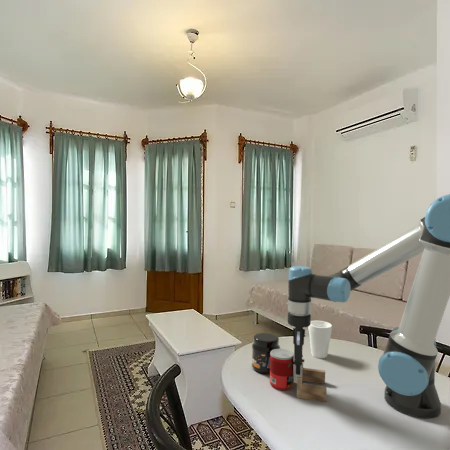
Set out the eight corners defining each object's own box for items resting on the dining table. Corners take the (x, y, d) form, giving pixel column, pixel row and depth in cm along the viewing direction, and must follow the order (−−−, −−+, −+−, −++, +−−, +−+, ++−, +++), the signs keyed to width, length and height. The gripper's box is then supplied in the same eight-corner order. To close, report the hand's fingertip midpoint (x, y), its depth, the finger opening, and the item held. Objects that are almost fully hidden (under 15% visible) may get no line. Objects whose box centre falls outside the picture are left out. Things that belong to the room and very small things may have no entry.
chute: (324, 381, 114) (325, 364, 114) (326, 401, 101) (326, 382, 101) (298, 378, 116) (298, 361, 116) (296, 397, 104) (297, 378, 104)
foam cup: (303, 351, 140) (304, 321, 139) (322, 349, 142) (322, 319, 142) (316, 361, 131) (316, 328, 130) (335, 358, 133) (336, 326, 133)
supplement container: (248, 363, 128) (248, 333, 127) (273, 361, 130) (273, 331, 130) (256, 376, 117) (257, 343, 117) (284, 373, 120) (284, 341, 120)
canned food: (291, 392, 107) (292, 359, 106) (267, 388, 109) (268, 355, 109) (294, 381, 114) (295, 350, 114) (271, 377, 116) (272, 347, 116)
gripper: (289, 306, 117) (288, 371, 117) (286, 317, 104) (285, 390, 105) (310, 308, 115) (309, 374, 115) (310, 319, 102) (309, 393, 103)
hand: (297, 382), depth 110 cm, fingers closed
